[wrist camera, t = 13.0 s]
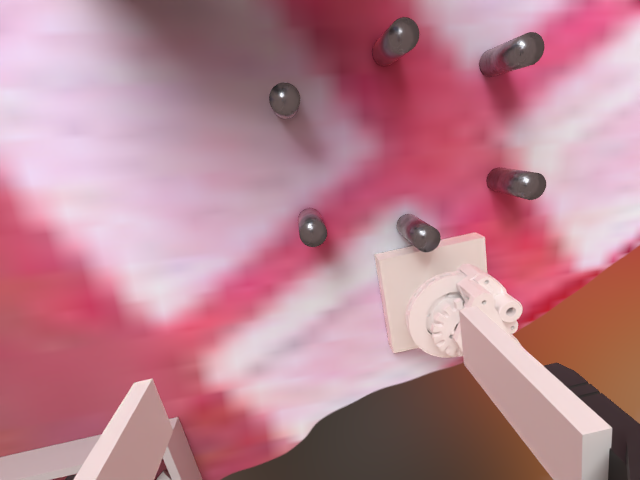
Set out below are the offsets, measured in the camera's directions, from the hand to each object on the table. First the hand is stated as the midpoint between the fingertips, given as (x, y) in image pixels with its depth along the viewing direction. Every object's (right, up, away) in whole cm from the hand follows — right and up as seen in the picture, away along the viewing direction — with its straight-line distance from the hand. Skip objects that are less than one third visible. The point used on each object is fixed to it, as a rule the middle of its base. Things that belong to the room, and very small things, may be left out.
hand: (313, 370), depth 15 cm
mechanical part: (+16, -2, +33) cm, 37 cm away
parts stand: (+16, -2, +35) cm, 38 cm away
